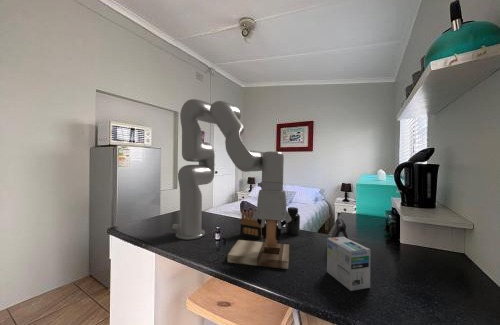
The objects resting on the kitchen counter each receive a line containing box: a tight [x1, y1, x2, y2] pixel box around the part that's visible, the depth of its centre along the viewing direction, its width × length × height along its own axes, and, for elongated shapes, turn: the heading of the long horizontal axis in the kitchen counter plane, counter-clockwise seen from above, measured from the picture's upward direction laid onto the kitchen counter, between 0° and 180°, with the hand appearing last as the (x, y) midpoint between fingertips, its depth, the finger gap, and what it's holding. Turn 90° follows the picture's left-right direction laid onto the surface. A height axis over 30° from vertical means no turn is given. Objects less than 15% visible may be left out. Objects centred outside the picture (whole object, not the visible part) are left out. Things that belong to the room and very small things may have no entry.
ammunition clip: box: [239, 208, 263, 240], centre depth 98 cm, size 11×2×12 cm, turn 63°
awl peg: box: [264, 220, 278, 247], centre depth 77 cm, size 4×4×10 cm
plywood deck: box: [227, 239, 290, 270], centre depth 78 cm, size 20×14×2 cm
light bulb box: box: [326, 236, 371, 292], centre depth 63 cm, size 11×7×11 cm, turn 17°
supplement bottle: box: [284, 206, 301, 237], centre depth 103 cm, size 7×7×12 cm
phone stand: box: [330, 218, 349, 239], centre depth 83 cm, size 9×6×12 cm, turn 73°
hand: (271, 237), depth 77 cm, fingers closed on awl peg, 4 cm apart
